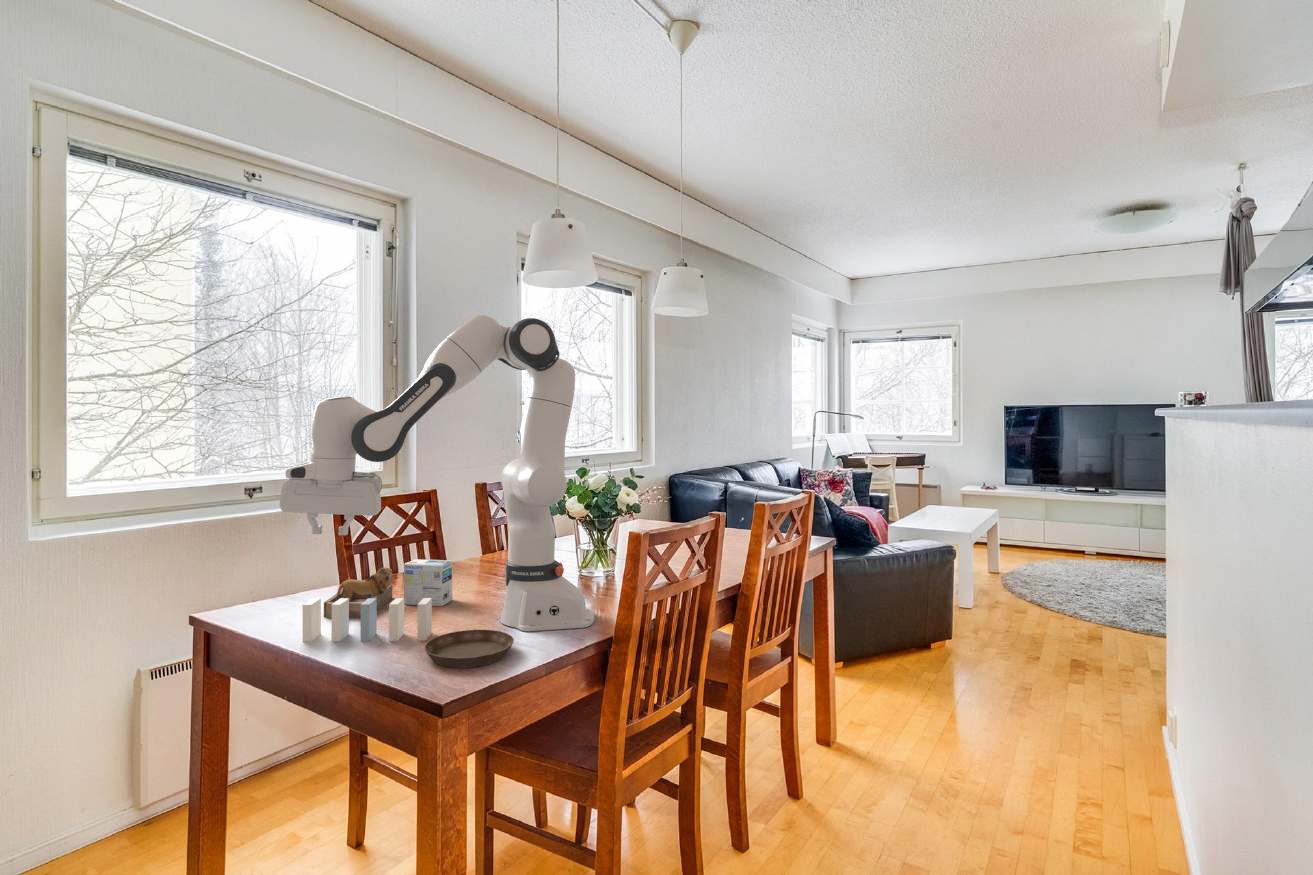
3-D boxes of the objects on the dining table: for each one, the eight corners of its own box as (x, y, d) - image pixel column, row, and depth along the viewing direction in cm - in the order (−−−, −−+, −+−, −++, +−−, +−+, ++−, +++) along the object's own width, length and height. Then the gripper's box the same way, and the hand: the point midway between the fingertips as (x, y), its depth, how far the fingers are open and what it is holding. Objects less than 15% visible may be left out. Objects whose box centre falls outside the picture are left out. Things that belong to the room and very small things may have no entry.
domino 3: (376, 633, 152) (376, 598, 151) (369, 641, 147) (369, 604, 146) (368, 633, 151) (368, 598, 151) (360, 641, 146) (360, 604, 146)
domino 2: (348, 633, 151) (348, 598, 151) (340, 641, 146) (340, 604, 146) (340, 633, 151) (340, 598, 151) (331, 641, 146) (331, 604, 146)
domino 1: (320, 634, 151) (320, 598, 150) (311, 641, 146) (311, 604, 145) (312, 634, 150) (312, 598, 150) (302, 641, 145) (302, 604, 145)
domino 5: (431, 633, 153) (431, 597, 152) (425, 640, 148) (426, 604, 147) (423, 633, 152) (423, 597, 152) (417, 640, 147) (417, 604, 147)
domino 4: (404, 633, 152) (404, 598, 152) (397, 640, 147) (397, 604, 147) (395, 633, 152) (396, 598, 152) (388, 640, 147) (389, 604, 147)
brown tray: (393, 596, 182) (393, 583, 182) (369, 617, 163) (369, 603, 163) (350, 596, 181) (351, 583, 181) (322, 617, 162) (322, 603, 162)
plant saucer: (405, 659, 137) (405, 644, 137) (473, 637, 151) (473, 623, 151) (464, 679, 127) (465, 663, 127) (531, 653, 142) (531, 639, 142)
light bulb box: (453, 599, 180) (453, 559, 180) (442, 606, 174) (443, 565, 173) (414, 598, 181) (414, 558, 181) (402, 604, 175) (403, 563, 174)
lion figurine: (390, 598, 178) (390, 564, 178) (395, 603, 174) (395, 568, 174) (328, 606, 170) (329, 570, 170) (332, 611, 165) (332, 574, 165)
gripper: (386, 472, 151) (383, 533, 151) (291, 467, 149) (288, 530, 150) (377, 474, 145) (374, 538, 145) (277, 469, 143) (274, 535, 143)
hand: (330, 534), depth 147 cm, fingers open, 4 cm apart
